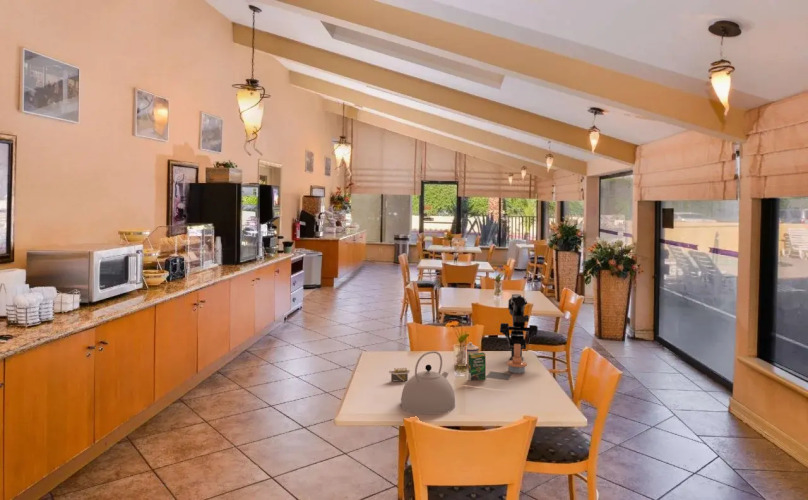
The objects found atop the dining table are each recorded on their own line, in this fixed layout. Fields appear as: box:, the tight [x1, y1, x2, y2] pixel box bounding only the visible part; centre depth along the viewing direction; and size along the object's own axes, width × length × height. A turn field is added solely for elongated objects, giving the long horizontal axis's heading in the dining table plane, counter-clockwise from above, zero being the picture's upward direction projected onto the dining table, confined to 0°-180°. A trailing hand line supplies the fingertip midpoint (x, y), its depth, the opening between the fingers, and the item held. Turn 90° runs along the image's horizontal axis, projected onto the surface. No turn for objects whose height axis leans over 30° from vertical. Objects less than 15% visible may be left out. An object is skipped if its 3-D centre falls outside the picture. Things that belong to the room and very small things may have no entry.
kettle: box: [400, 350, 456, 415], centre depth 241 cm, size 25×23×22 cm
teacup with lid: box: [466, 341, 480, 366], centre depth 303 cm, size 12×9×12 cm
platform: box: [388, 367, 411, 382], centre depth 272 cm, size 12×18×7 cm, turn 102°
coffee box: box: [468, 352, 487, 381], centre depth 274 cm, size 8×3×13 cm, turn 107°
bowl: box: [508, 366, 526, 374], centre depth 288 cm, size 8×8×4 cm
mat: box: [486, 371, 513, 381], centre depth 281 cm, size 11×11×1 cm
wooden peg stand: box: [506, 344, 528, 368], centre depth 288 cm, size 10×10×10 cm
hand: (518, 343), depth 291 cm, fingers open, 9 cm apart
